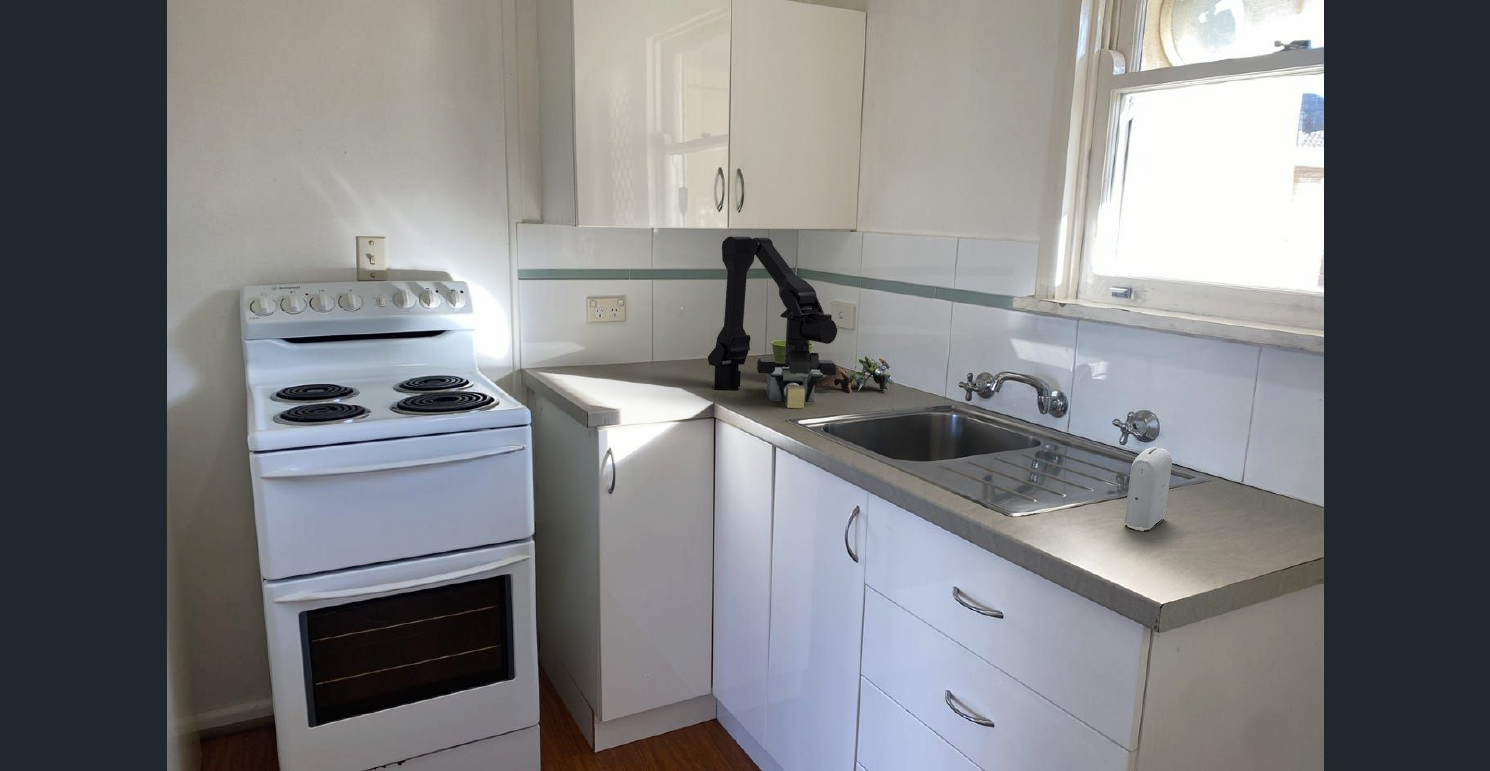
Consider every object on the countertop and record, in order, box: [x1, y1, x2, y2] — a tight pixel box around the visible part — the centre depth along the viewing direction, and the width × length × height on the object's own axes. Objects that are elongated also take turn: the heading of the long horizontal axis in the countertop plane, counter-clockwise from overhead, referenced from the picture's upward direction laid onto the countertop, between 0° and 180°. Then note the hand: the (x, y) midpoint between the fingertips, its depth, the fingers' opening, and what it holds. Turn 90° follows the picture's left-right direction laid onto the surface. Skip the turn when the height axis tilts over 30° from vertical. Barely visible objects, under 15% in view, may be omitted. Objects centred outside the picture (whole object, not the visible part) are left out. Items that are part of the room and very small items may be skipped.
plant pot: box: [769, 339, 815, 363], centre depth 250 cm, size 12×12×11 cm
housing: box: [766, 370, 815, 403], centre depth 234 cm, size 11×11×6 cm
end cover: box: [783, 381, 805, 409], centre depth 229 cm, size 18×4×5 cm, turn 3°
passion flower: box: [844, 355, 895, 393], centre depth 244 cm, size 11×11×12 cm
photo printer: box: [1124, 446, 1173, 528], centre depth 146 cm, size 10×4×12 cm, turn 140°
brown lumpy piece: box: [814, 363, 852, 394], centre depth 244 cm, size 12×9×8 cm
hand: (794, 401), depth 223 cm, fingers open, 5 cm apart
